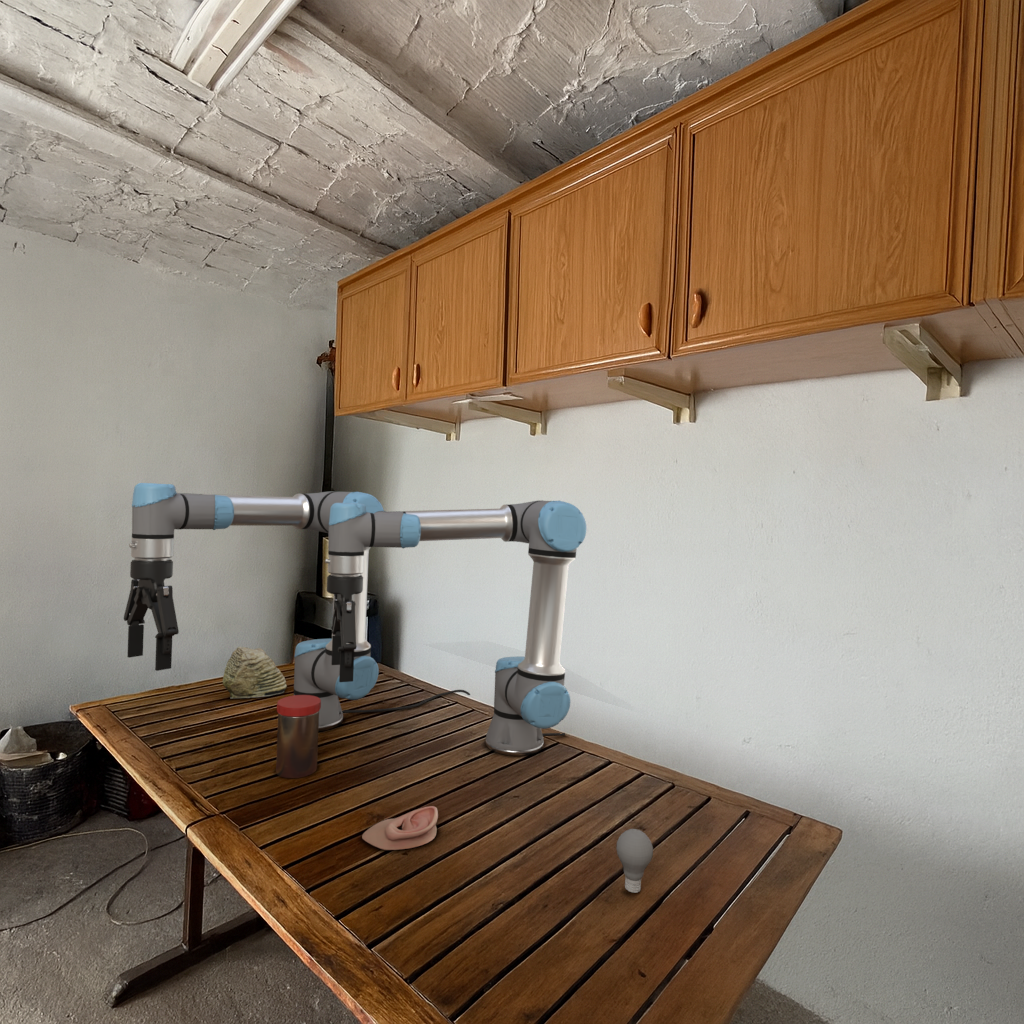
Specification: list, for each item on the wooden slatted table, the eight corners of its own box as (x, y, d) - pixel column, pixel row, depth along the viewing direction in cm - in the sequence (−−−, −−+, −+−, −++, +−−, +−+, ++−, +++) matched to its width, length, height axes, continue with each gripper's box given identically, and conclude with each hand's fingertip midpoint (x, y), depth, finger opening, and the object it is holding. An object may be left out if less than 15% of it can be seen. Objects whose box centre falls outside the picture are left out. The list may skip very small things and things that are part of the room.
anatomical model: (355, 823, 115) (380, 795, 127) (354, 845, 116) (380, 815, 127) (424, 834, 113) (444, 804, 124) (423, 856, 113) (443, 824, 124)
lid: (270, 716, 141) (271, 707, 141) (283, 702, 150) (284, 694, 150) (314, 717, 141) (314, 708, 141) (324, 703, 151) (325, 695, 151)
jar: (270, 778, 141) (273, 709, 141) (282, 761, 150) (285, 696, 150) (311, 778, 142) (314, 710, 142) (321, 762, 151) (323, 697, 151)
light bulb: (610, 879, 108) (613, 822, 108) (644, 879, 109) (647, 822, 109) (619, 902, 102) (622, 840, 102) (655, 901, 103) (658, 840, 103)
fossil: (218, 695, 195) (220, 647, 195) (278, 685, 208) (279, 640, 207) (228, 703, 189) (230, 653, 188) (289, 692, 201) (290, 645, 201)
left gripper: (108, 554, 134) (104, 654, 134) (159, 565, 118) (155, 678, 119) (146, 552, 140) (143, 648, 140) (199, 563, 124) (195, 671, 124)
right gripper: (321, 567, 146) (318, 659, 147) (334, 582, 123) (330, 690, 124) (354, 567, 149) (351, 657, 150) (373, 582, 126) (369, 688, 127)
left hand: (148, 662), depth 129 cm, fingers open, 13 cm apart
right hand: (341, 672), depth 137 cm, fingers open, 13 cm apart
